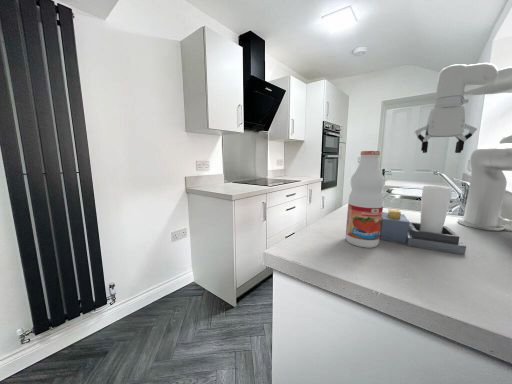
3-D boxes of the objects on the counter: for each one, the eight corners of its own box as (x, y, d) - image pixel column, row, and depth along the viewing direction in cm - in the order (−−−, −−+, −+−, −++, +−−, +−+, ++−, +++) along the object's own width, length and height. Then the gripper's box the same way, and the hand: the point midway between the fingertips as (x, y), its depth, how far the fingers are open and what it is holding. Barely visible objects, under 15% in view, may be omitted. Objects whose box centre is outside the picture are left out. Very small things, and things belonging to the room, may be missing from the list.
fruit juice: (367, 236, 71) (376, 151, 67) (385, 248, 62) (397, 150, 57) (340, 236, 71) (347, 151, 66) (354, 248, 61) (363, 150, 57)
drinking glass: (418, 229, 71) (424, 185, 69) (445, 234, 66) (453, 187, 64) (414, 234, 67) (421, 187, 64) (443, 240, 62) (451, 189, 59)
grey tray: (447, 239, 70) (452, 212, 68) (464, 254, 58) (470, 223, 57) (372, 228, 79) (374, 205, 78) (373, 240, 68) (376, 213, 66)
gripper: (475, 104, 75) (467, 153, 78) (416, 108, 83) (410, 153, 86) (486, 99, 69) (477, 152, 71) (420, 104, 76) (414, 152, 79)
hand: (440, 152), depth 79 cm, fingers open, 9 cm apart
